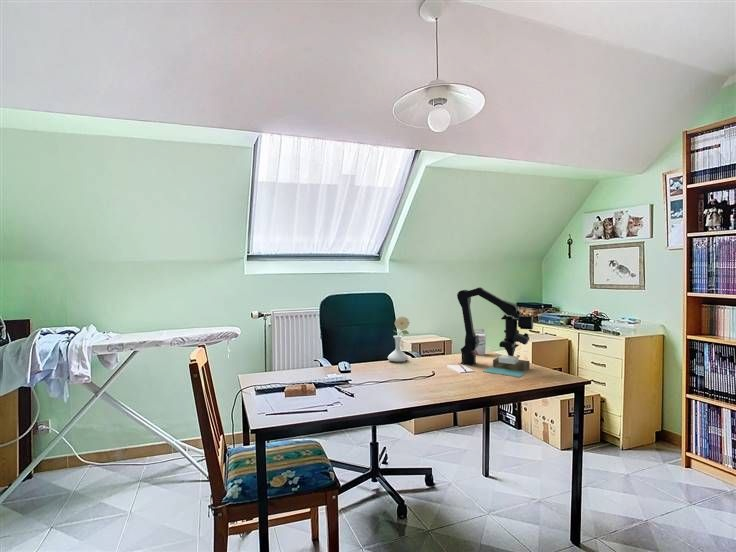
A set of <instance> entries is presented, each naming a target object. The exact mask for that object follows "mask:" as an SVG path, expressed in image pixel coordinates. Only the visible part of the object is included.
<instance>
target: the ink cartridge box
mask: <svg viewBox="0 0 736 552" xmlns="http://www.w3.org/2000/svg"><path fill="white" fill-rule="evenodd" d="M474 333H475V335H478V336H479V341H480V342H479V345H478V347H477V348H476V349H475V351H473V352H475V355H476V356H486V348H487V347H486V345H487V344H486V340H487V339H486V336H487V335H486V334H485V329H484V328H474Z"/></svg>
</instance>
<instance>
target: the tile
mask: <svg viewBox="0 0 736 552" xmlns="http://www.w3.org/2000/svg"><path fill="white" fill-rule="evenodd" d="M498 357H499V362H501V363H508V364H516V363H517V362H519V360H520V359H519V356H518V355H517V356H515V355H513V356H509V355H508V354H502V355H500V356H498Z"/></svg>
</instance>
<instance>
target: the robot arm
mask: <svg viewBox="0 0 736 552" xmlns="http://www.w3.org/2000/svg"><path fill="white" fill-rule="evenodd" d="M456 296H457V301H458V303H459V305H460V307H461V311H462V317H463V323H464V330H465V336H464V338H465V339H464V346H463V347H461V348H460V352H461V362H459V363H460V364H461V365H468V366H473V365H475V364H476V363H477V362H476V360H477V358H476V357H477V355H475V352H473V351H475V349H476V348H477V347H478V345H479V342H480V341H479V336H478V335H475V333H474V329H475V328H474V322H473V316H472V311H471V310H472V309H471V302H472V297H477V296H479V297H481V298H482V299H484V300H486V301H488V302H490V303H491V304H492V305H495V306H496V307H498V308H499V309H500V310H501V311H502V312H503V313H504V315H503V316H502V317H501V318H500V319H501V320H504V321H505V325H504V326H505V329H504V330H503V333H505V335H504V339H503V340H501V341H500V342H499V346H498V347H499V348H504V349H505V351H506V353H507V355H509V356H515V351H516V349H517V347H519V345H520V344H522V345H528V343H529V341H530V336H529V333H527V332H525V333H520V330H531V331H532V330H533V329H534V321H533V316H532V315H522V313H521V312H520V311H519V308H518V305H517V304H516V303H514V302H510V301H507V300H505V299H502V298H500V297H499V296H496V295H495V294H493V293H491V292H489V291H487V290H485V289H484V288H483V287H477V288H474V289H469V290H468V289H462V290H459V291H458V292H457V294H456ZM518 328H519V329H520V330H519V329H518ZM517 343H519V344H517Z"/></svg>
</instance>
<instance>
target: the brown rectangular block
mask: <svg viewBox="0 0 736 552" xmlns="http://www.w3.org/2000/svg"><path fill="white" fill-rule="evenodd" d="M499 357H500V356H498V357H496V358H494V359H492V367H496V368H503V369H510V370H518V371H525V372H527V371H529V370H530V360H526V359H519V362H517V363H516V364H508V363H501V362H499Z"/></svg>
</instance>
